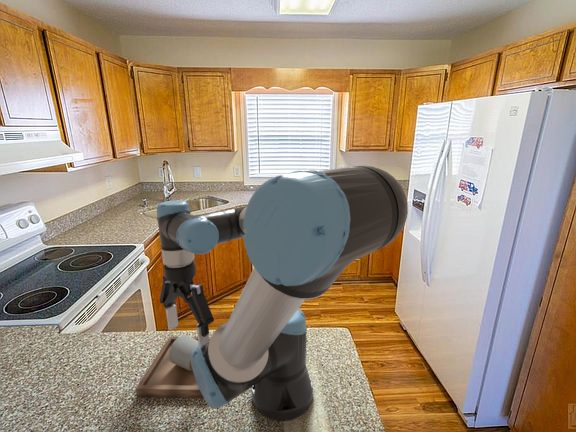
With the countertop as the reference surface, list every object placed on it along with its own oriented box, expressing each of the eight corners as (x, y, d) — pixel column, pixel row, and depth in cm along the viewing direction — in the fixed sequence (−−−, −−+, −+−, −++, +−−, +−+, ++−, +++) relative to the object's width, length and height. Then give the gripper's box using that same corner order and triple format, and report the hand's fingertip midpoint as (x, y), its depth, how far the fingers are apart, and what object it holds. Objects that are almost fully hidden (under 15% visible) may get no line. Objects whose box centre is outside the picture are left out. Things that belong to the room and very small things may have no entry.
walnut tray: (233, 343, 91) (233, 336, 91) (217, 398, 72) (216, 389, 71) (170, 343, 92) (169, 336, 91) (136, 397, 72) (135, 388, 72)
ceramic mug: (192, 379, 76) (189, 353, 75) (169, 369, 80) (166, 344, 78) (218, 354, 86) (217, 330, 84) (197, 346, 89) (195, 323, 87)
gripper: (224, 267, 70) (230, 345, 75) (165, 249, 84) (173, 315, 89) (198, 279, 64) (206, 363, 69) (139, 257, 78) (150, 327, 83)
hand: (188, 336), depth 79 cm, fingers open, 13 cm apart
